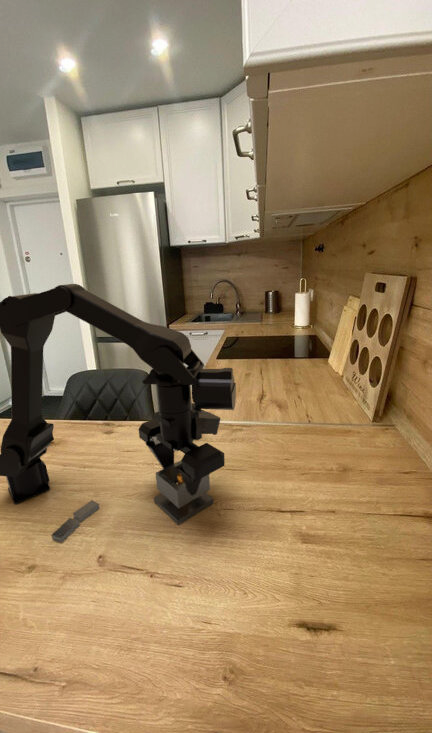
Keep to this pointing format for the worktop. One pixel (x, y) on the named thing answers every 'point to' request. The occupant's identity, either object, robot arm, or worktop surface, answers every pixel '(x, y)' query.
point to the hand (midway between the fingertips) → (181, 484)
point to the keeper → (185, 511)
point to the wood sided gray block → (65, 530)
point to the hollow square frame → (178, 492)
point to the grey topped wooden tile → (86, 511)
